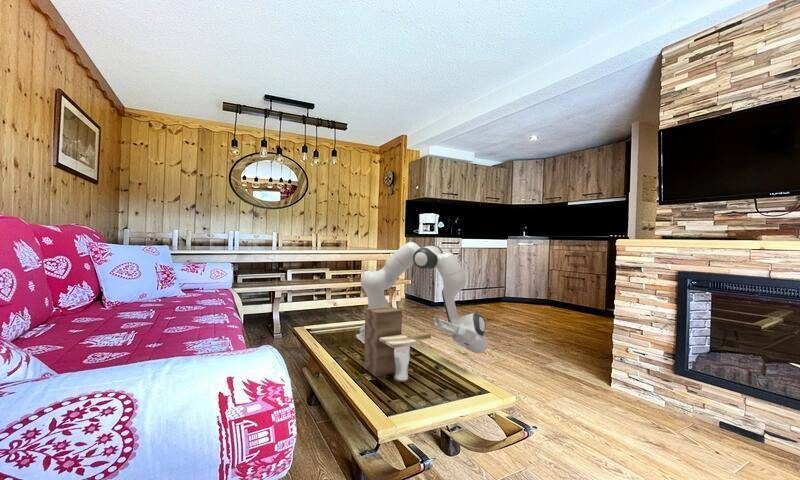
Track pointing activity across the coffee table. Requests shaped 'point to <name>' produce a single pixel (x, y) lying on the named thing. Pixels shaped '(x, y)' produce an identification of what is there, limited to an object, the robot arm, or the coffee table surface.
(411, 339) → the beige t-shaped block
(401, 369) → the beer glass
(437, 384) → the coffee table surface
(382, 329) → the stand
